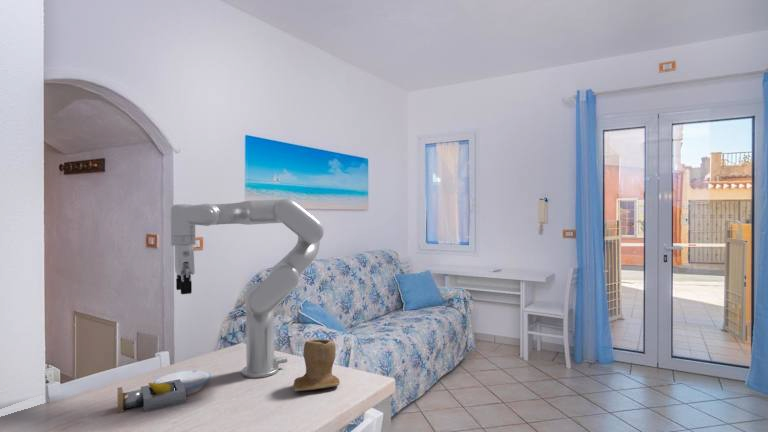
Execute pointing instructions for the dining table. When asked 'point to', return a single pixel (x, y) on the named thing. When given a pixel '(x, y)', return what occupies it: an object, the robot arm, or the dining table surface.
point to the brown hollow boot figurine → (317, 366)
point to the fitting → (151, 397)
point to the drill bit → (162, 387)
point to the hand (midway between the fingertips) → (183, 291)
